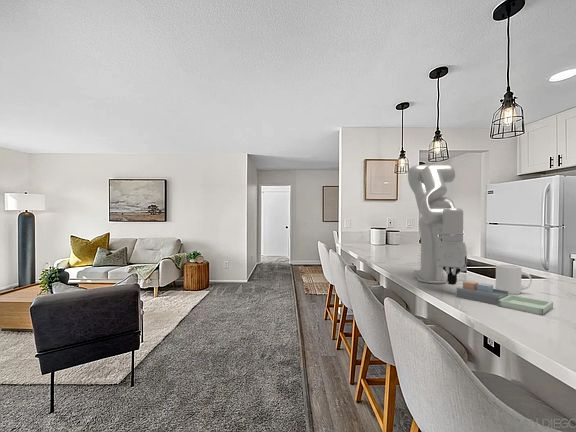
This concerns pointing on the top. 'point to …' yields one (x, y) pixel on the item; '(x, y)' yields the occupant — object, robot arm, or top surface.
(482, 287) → the tile front
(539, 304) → the tray
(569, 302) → the top surface
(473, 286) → the tan small block
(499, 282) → the mug
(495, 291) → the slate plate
